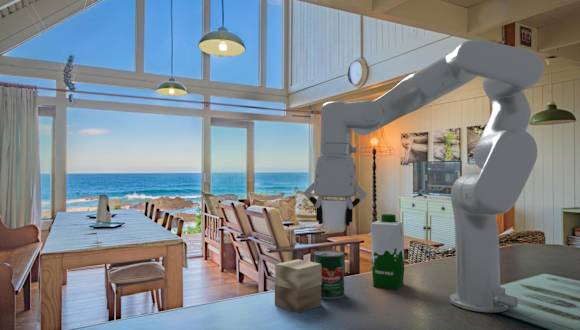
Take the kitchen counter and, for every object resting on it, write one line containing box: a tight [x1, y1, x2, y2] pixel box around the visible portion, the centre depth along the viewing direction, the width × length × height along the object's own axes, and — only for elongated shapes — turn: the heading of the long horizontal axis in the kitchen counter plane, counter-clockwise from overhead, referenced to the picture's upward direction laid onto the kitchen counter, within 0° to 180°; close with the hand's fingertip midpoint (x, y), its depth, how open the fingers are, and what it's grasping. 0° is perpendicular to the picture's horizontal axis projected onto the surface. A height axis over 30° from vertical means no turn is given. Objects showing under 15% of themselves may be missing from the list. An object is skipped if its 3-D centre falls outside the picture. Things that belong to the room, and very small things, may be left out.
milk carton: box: [370, 213, 405, 290], centre depth 108 cm, size 9×9×20 cm
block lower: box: [274, 284, 322, 314], centre depth 91 cm, size 8×8×5 cm
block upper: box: [274, 258, 322, 291], centre depth 91 cm, size 8×8×5 cm
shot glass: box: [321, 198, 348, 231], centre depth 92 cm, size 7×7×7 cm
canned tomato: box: [313, 249, 345, 300], centre depth 99 cm, size 8×8×11 cm
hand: (334, 223), depth 92 cm, fingers closed on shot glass, 6 cm apart
